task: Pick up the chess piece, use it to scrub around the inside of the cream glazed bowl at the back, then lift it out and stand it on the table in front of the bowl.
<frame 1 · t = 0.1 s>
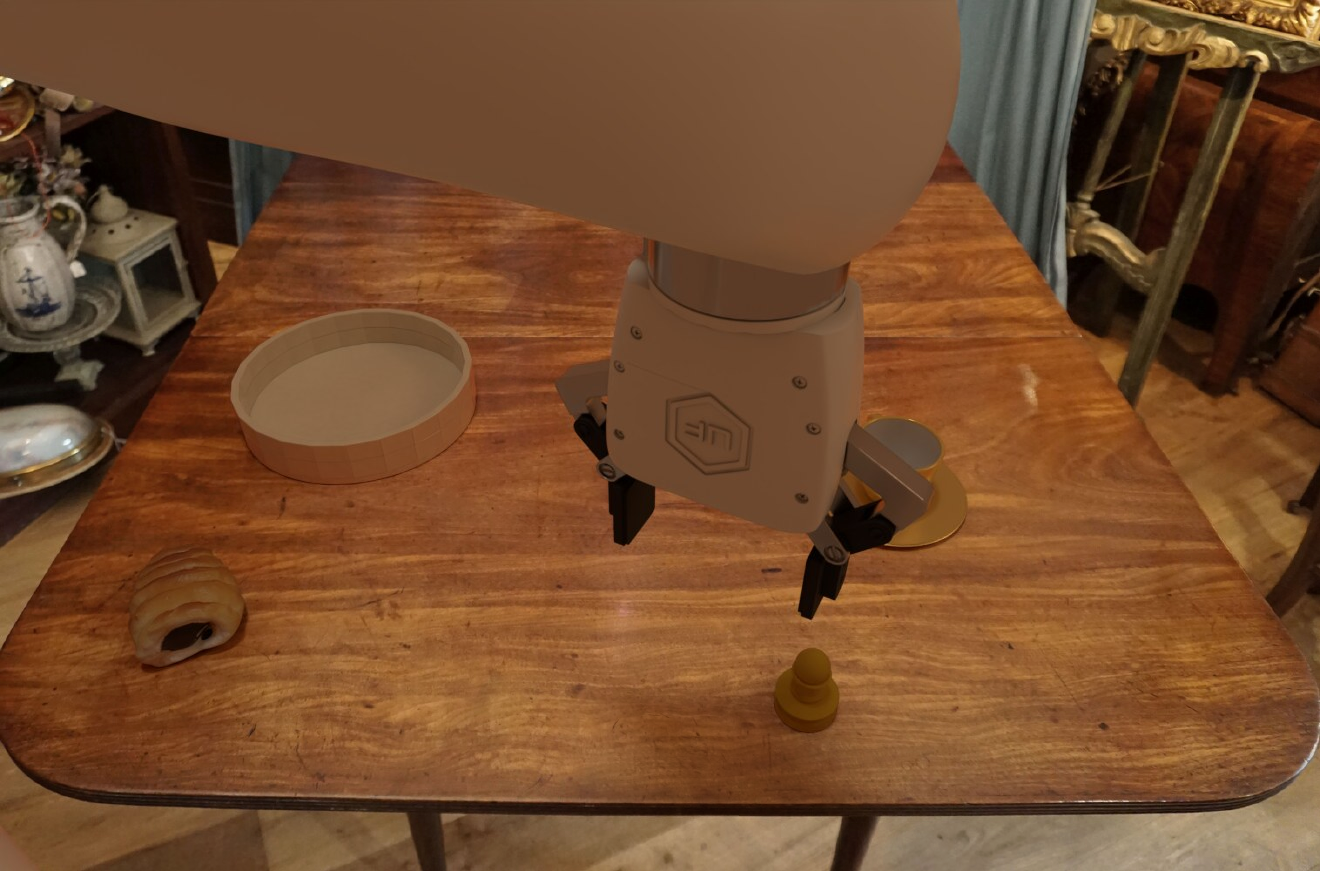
hand: (721, 561, 45), 16 cm above the table, tool pointing down, fingers open, 9 cm apart
chess piece: (804, 706, 58), on the table
bowl: (362, 408, 80), on the table
pastry: (189, 619, 63), on the table
cup: (887, 496, 73), on the table
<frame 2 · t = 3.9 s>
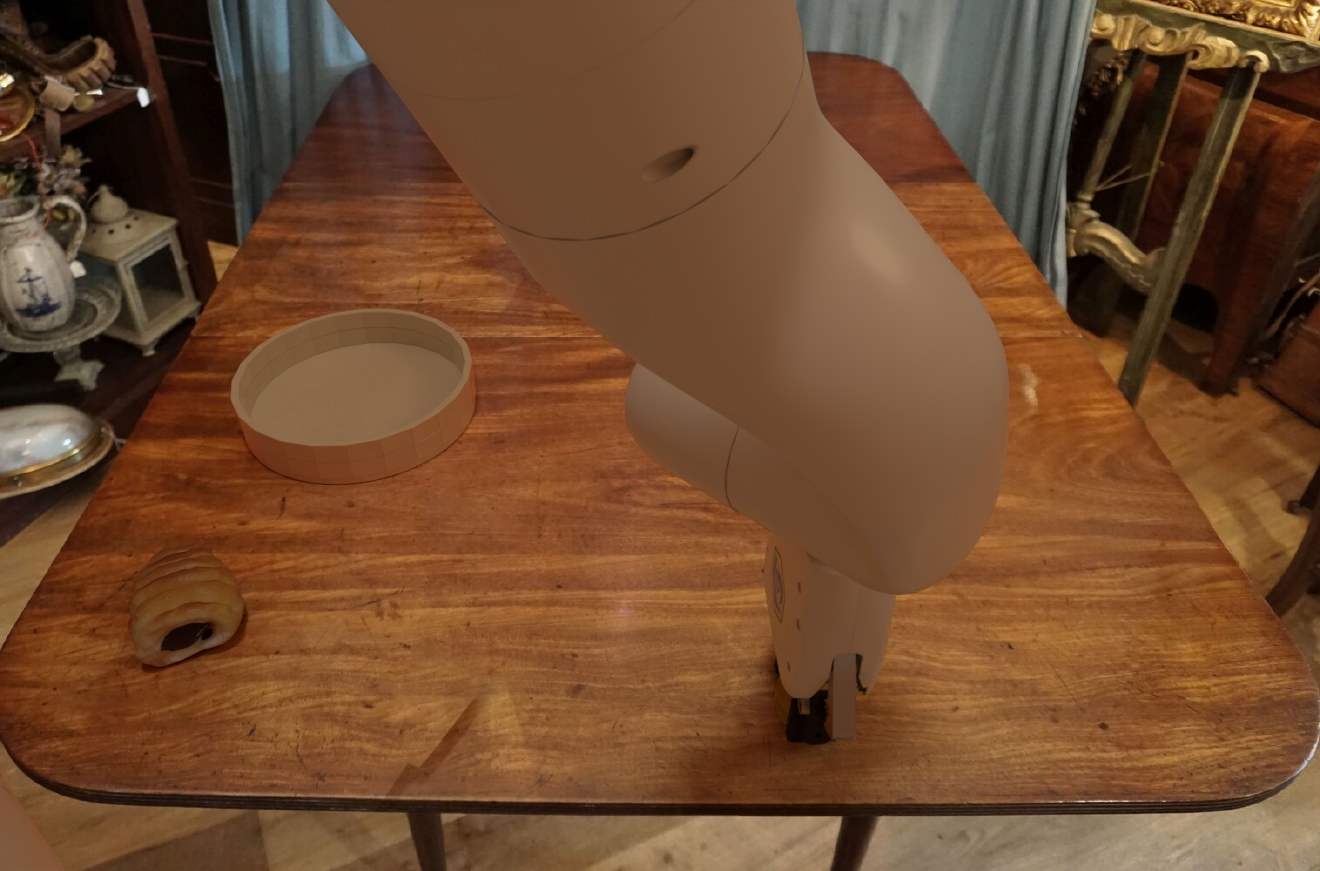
hand: (805, 701, 58), 0 cm above the table, tool pointing down, fingers closed on chess piece, 4 cm apart
chess piece: (804, 706, 58), on the table, touching gripper
everything else where it was.
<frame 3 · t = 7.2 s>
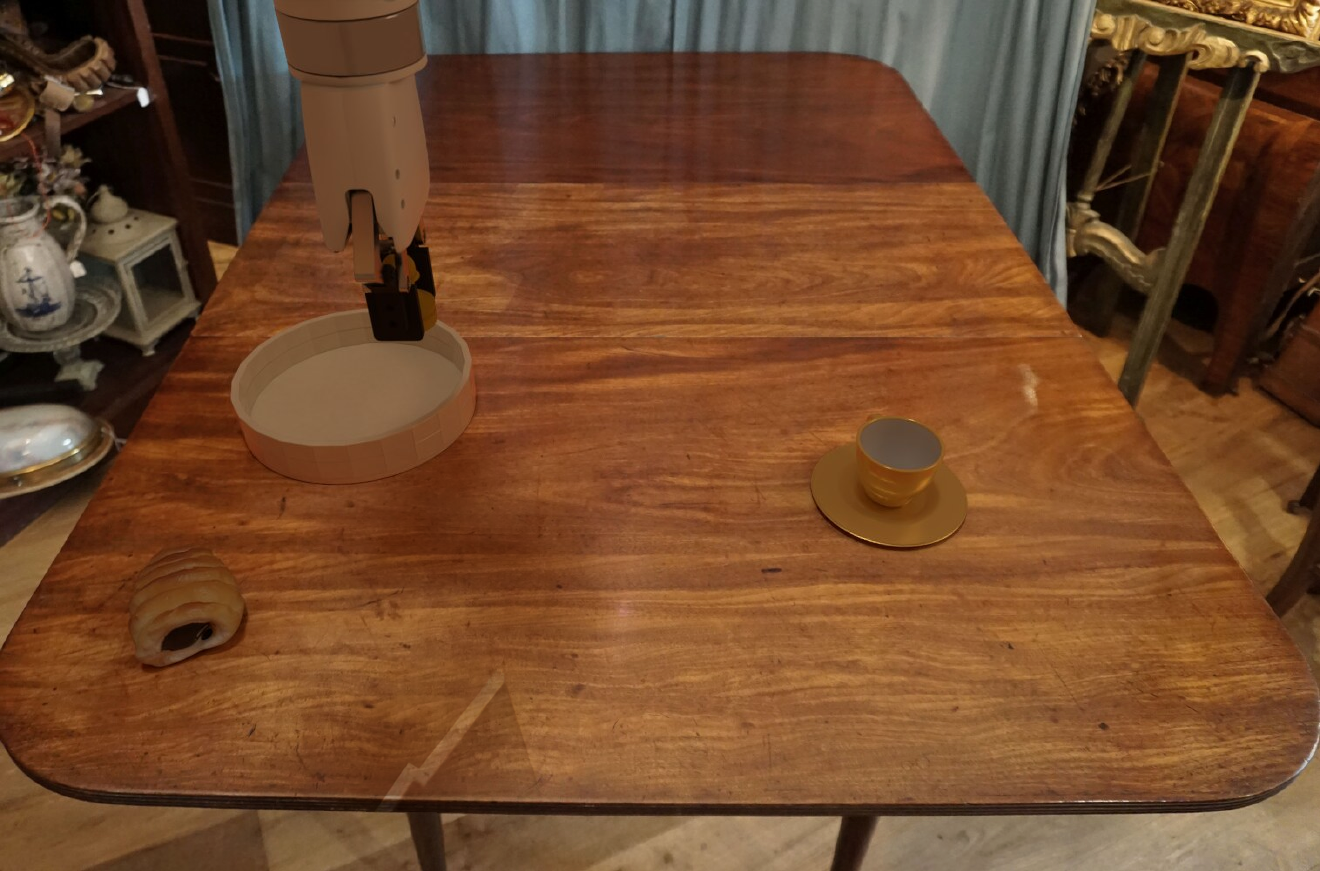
hand: (406, 316, 63), 15 cm above the table, tool pointing down, fingers closed on chess piece, 4 cm apart
chess piece: (408, 322, 63), point 15 cm above the table, touching gripper
everything else where it was.
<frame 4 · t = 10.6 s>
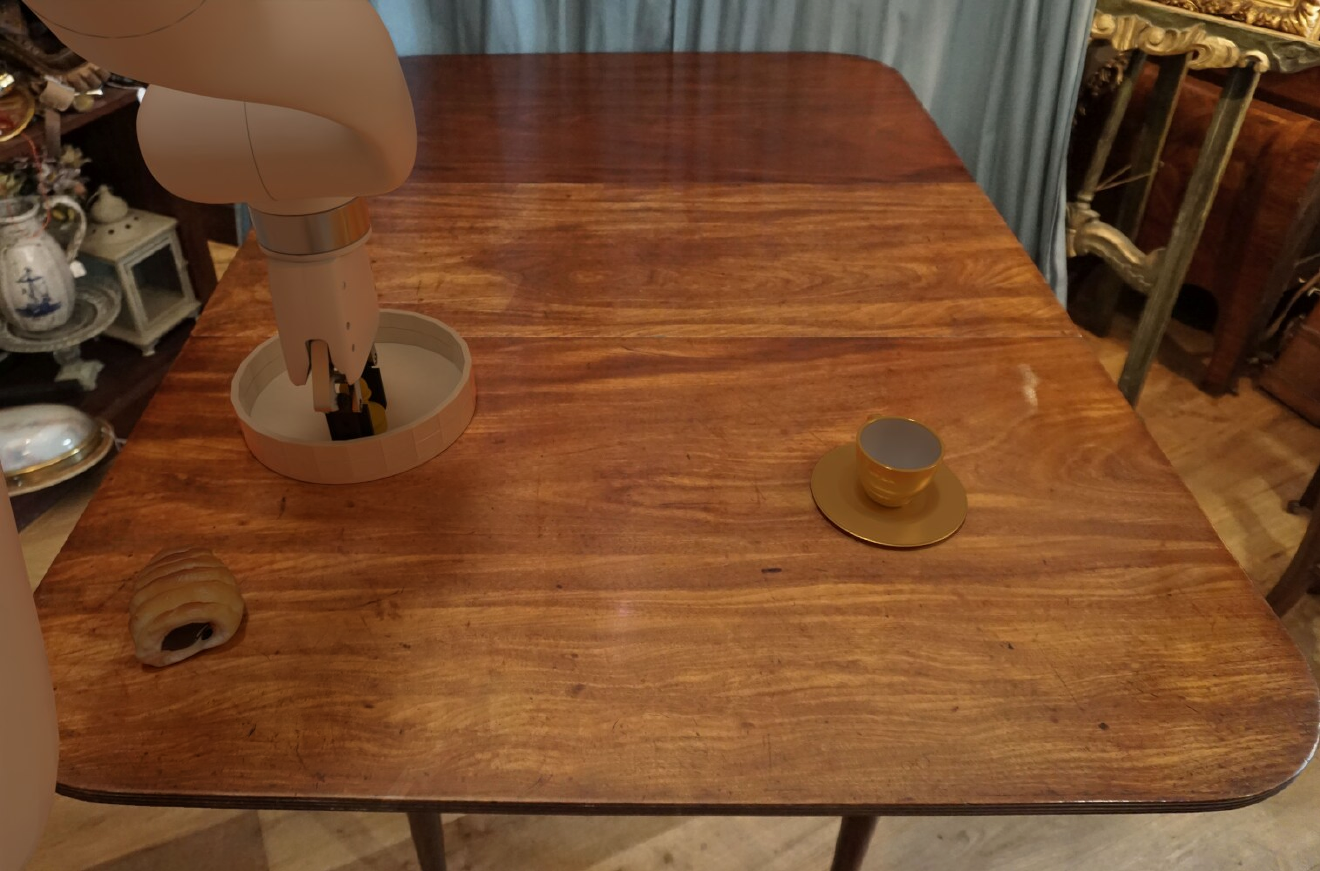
hand: (361, 425, 75), 2 cm above the table, tool pointing down, fingers closed on chess piece, 4 cm apart
chess piece: (363, 430, 75), point 2 cm above the table, touching gripper
everything else where it was.
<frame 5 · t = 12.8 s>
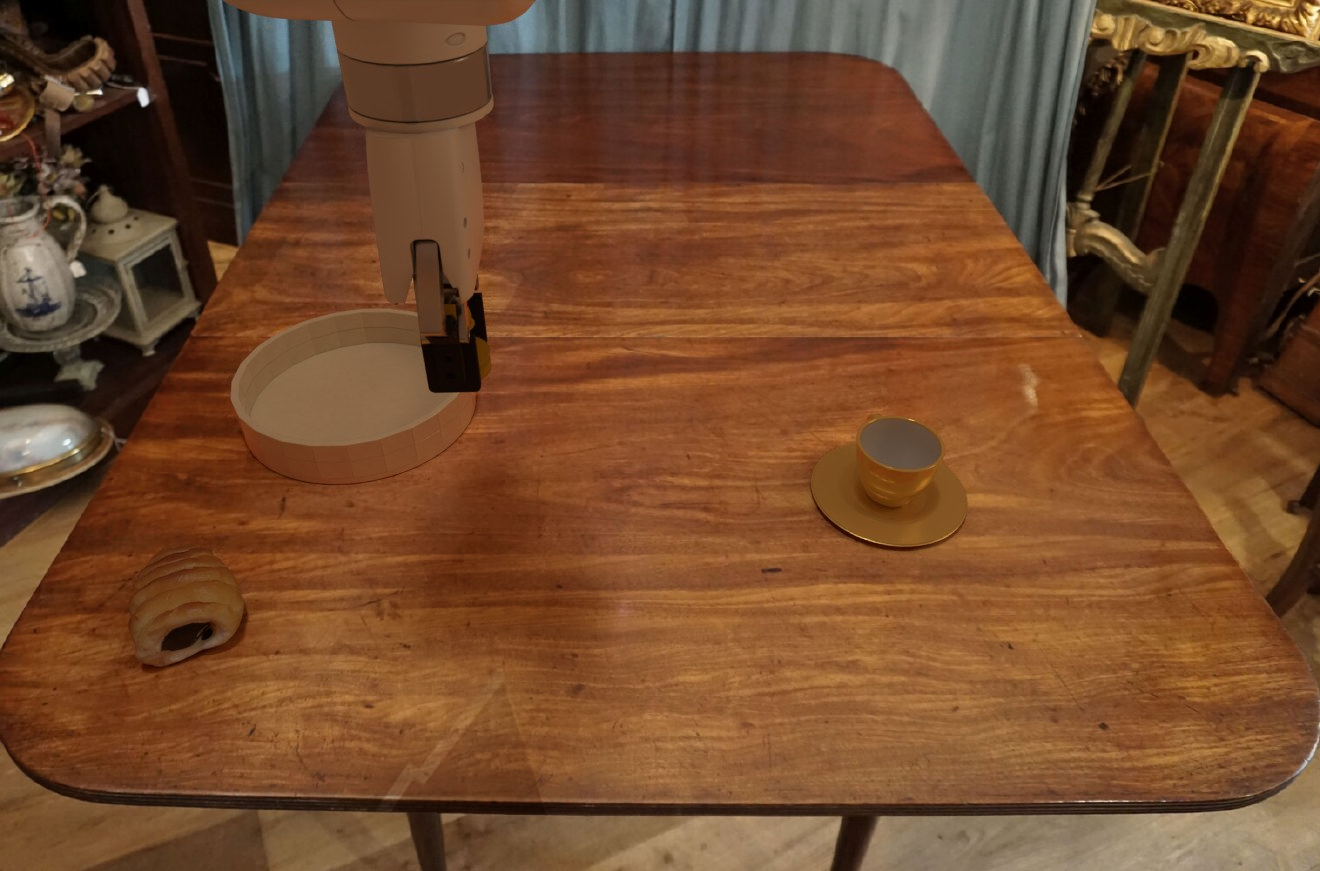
hand: (459, 365, 60), 15 cm above the table, tool pointing down, fingers closed on chess piece, 4 cm apart
chess piece: (461, 371, 60), point 14 cm above the table, touching gripper
everything else where it was.
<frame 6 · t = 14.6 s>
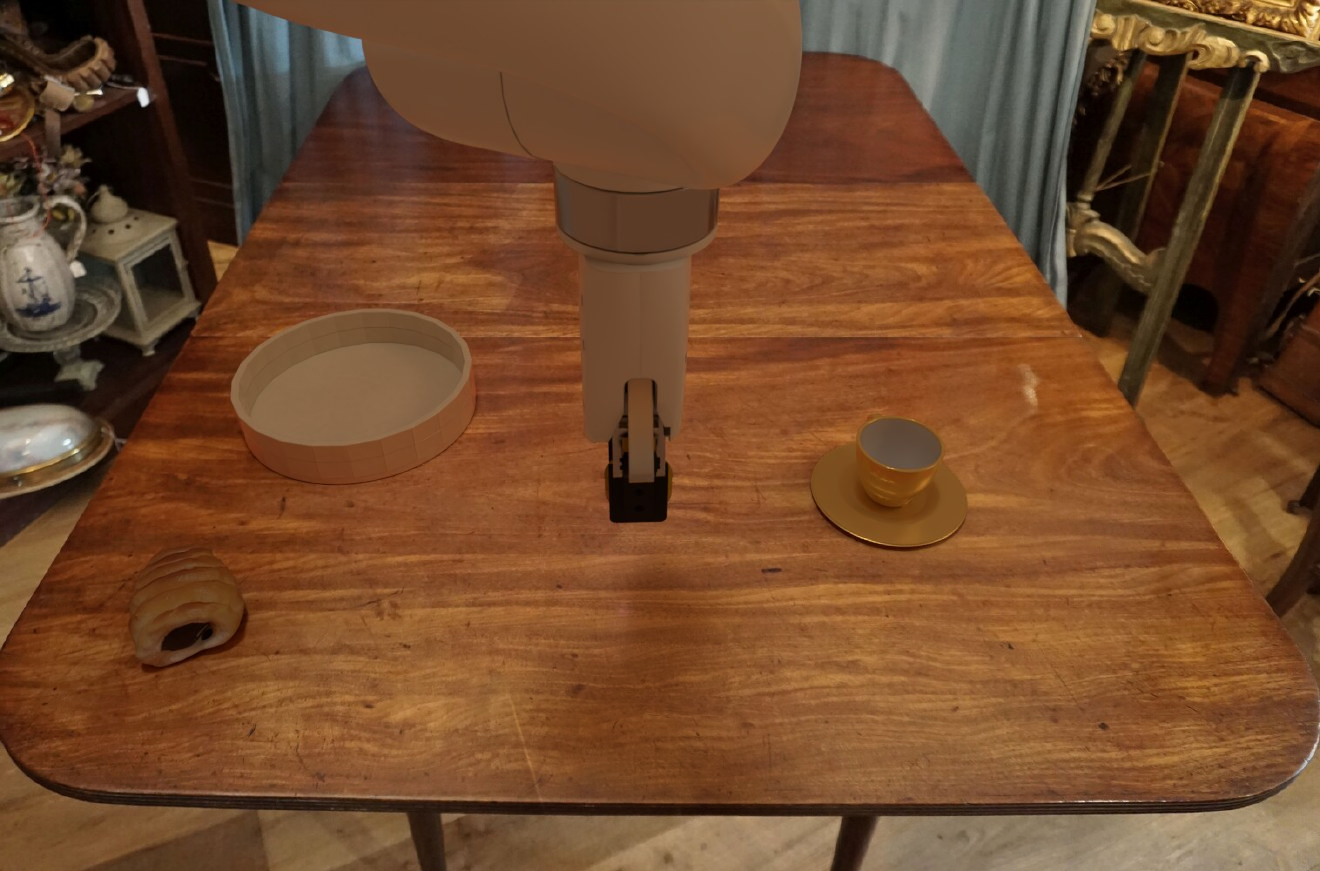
hand: (636, 487, 54), 13 cm above the table, tool pointing down, fingers closed on chess piece, 4 cm apart
chess piece: (638, 493, 54), point 13 cm above the table, touching gripper
everything else where it was.
when the fingers open (0 cm above the table, at t = 17.7 s): chess piece stays where it is, on the table.
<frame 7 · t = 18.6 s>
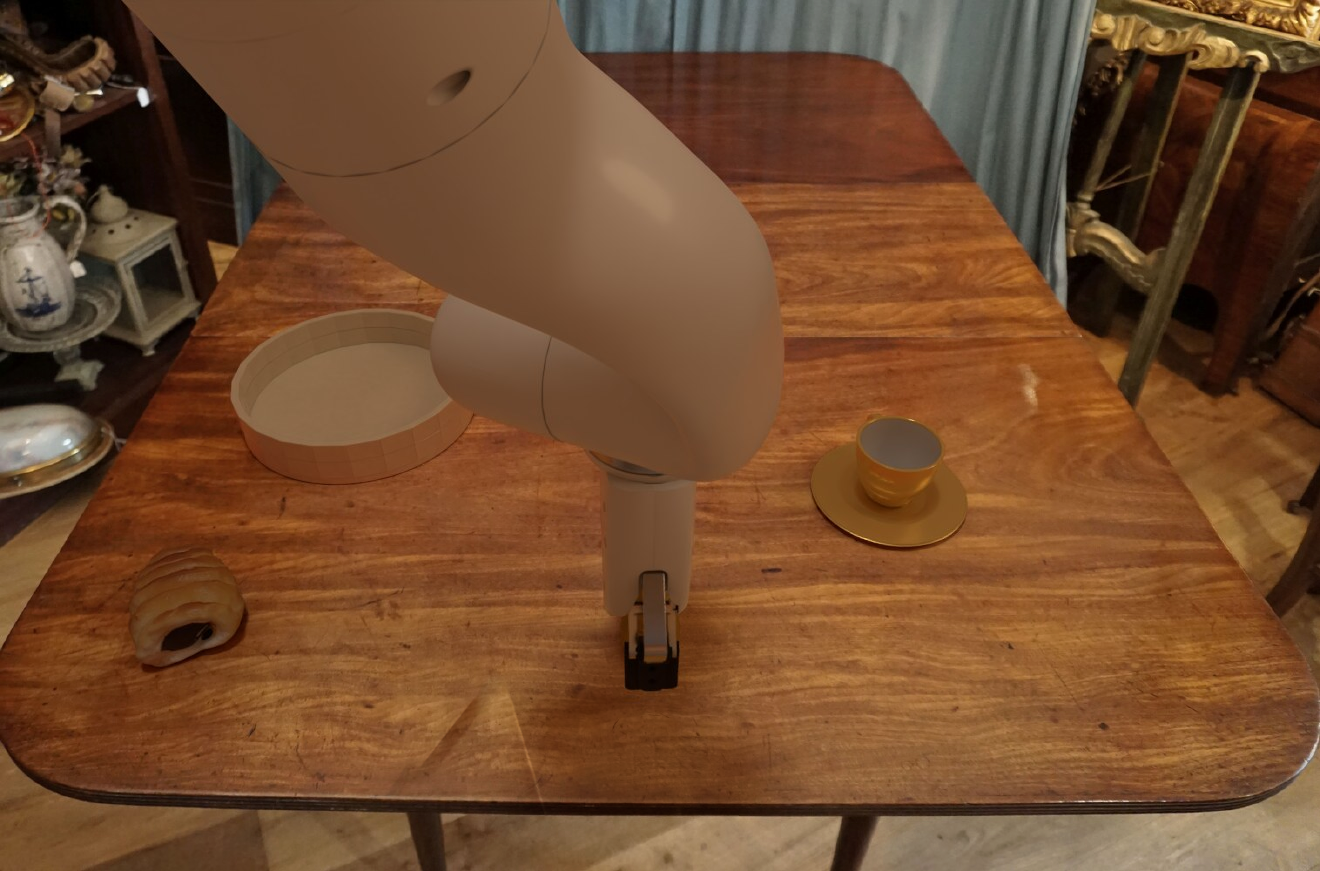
hand: (647, 622, 61), 2 cm above the table, tool pointing down, fingers open, 9 cm apart
chess piece: (650, 639, 62), on the table
everything else where it was.
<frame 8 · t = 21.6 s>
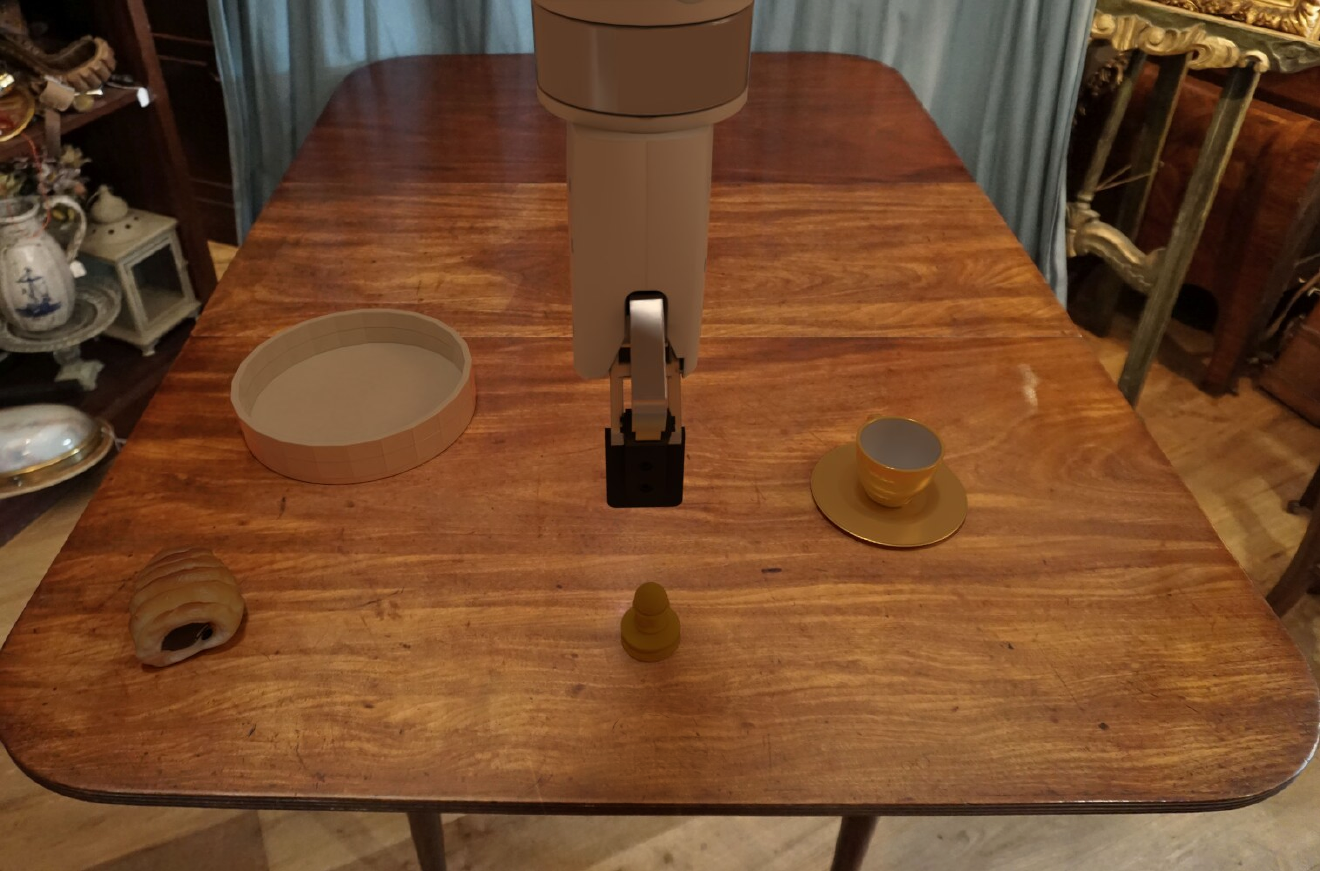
hand: (640, 429, 43), 22 cm above the table, tool pointing down, fingers open, 9 cm apart
nothing on the table moved.
at the end: chess piece tilted 0°; the gripper is holding nothing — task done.
